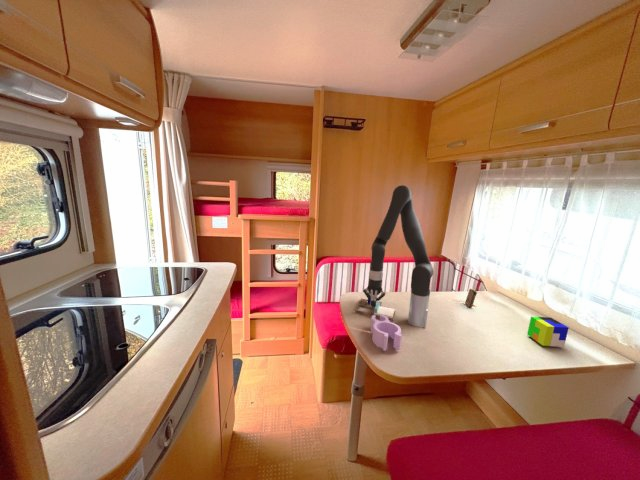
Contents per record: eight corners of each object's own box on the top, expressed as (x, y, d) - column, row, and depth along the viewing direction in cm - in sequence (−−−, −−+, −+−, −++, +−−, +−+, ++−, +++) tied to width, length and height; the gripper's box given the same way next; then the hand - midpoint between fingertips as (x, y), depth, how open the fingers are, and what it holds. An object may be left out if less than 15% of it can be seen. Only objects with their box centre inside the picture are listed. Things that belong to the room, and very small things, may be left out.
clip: (364, 327, 135) (365, 315, 133) (387, 326, 137) (389, 314, 135) (378, 351, 115) (380, 336, 114) (405, 349, 117) (407, 335, 116)
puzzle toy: (564, 346, 126) (568, 327, 124) (542, 345, 126) (547, 326, 124) (546, 335, 135) (550, 317, 134) (527, 334, 136) (531, 316, 134)
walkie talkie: (482, 311, 160) (486, 283, 157) (459, 309, 161) (463, 281, 158) (472, 303, 173) (476, 276, 169) (451, 301, 174) (455, 275, 171)
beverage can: (377, 305, 162) (379, 281, 159) (375, 308, 157) (378, 284, 154) (368, 303, 164) (370, 280, 161) (366, 307, 159) (368, 283, 156)
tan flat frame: (396, 307, 160) (396, 305, 160) (393, 321, 143) (393, 318, 142) (361, 300, 168) (361, 298, 167) (354, 312, 150) (354, 310, 150)
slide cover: (394, 310, 152) (395, 305, 151) (392, 318, 143) (393, 312, 142) (376, 307, 155) (377, 301, 155) (374, 314, 146) (374, 308, 145)
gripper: (388, 277, 149) (385, 306, 152) (365, 274, 153) (363, 302, 156) (386, 281, 142) (384, 311, 145) (362, 277, 146) (360, 306, 149)
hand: (373, 306), depth 151 cm, fingers closed
